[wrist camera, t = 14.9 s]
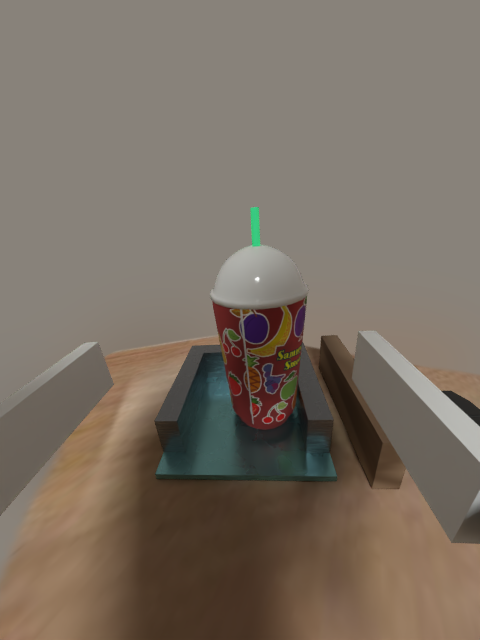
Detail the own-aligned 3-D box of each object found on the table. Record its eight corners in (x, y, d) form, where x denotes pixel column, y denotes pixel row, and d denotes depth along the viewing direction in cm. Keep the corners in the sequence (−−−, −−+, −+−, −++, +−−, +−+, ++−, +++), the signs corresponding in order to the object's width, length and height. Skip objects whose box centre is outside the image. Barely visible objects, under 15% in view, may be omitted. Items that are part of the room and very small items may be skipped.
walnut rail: (333, 366, 32) (336, 335, 30) (399, 488, 18) (413, 442, 16) (319, 367, 32) (321, 335, 30) (372, 488, 18) (382, 442, 16)
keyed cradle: (301, 369, 32) (302, 341, 30) (336, 481, 18) (342, 441, 17) (197, 372, 33) (192, 345, 32) (156, 478, 20) (144, 441, 18)
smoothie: (304, 449, 20) (316, 197, 13) (215, 436, 22) (179, 211, 15) (302, 387, 28) (309, 205, 20) (235, 381, 30) (218, 213, 22)
